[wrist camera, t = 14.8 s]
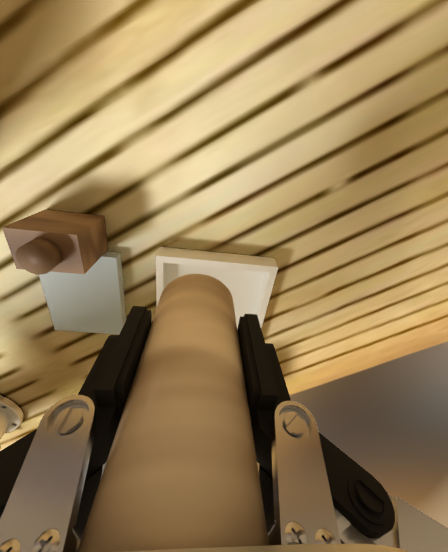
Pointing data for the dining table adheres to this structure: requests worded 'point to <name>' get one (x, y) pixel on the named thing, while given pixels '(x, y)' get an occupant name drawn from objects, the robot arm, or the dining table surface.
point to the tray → (222, 275)
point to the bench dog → (57, 242)
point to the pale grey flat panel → (88, 297)
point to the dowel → (183, 436)
